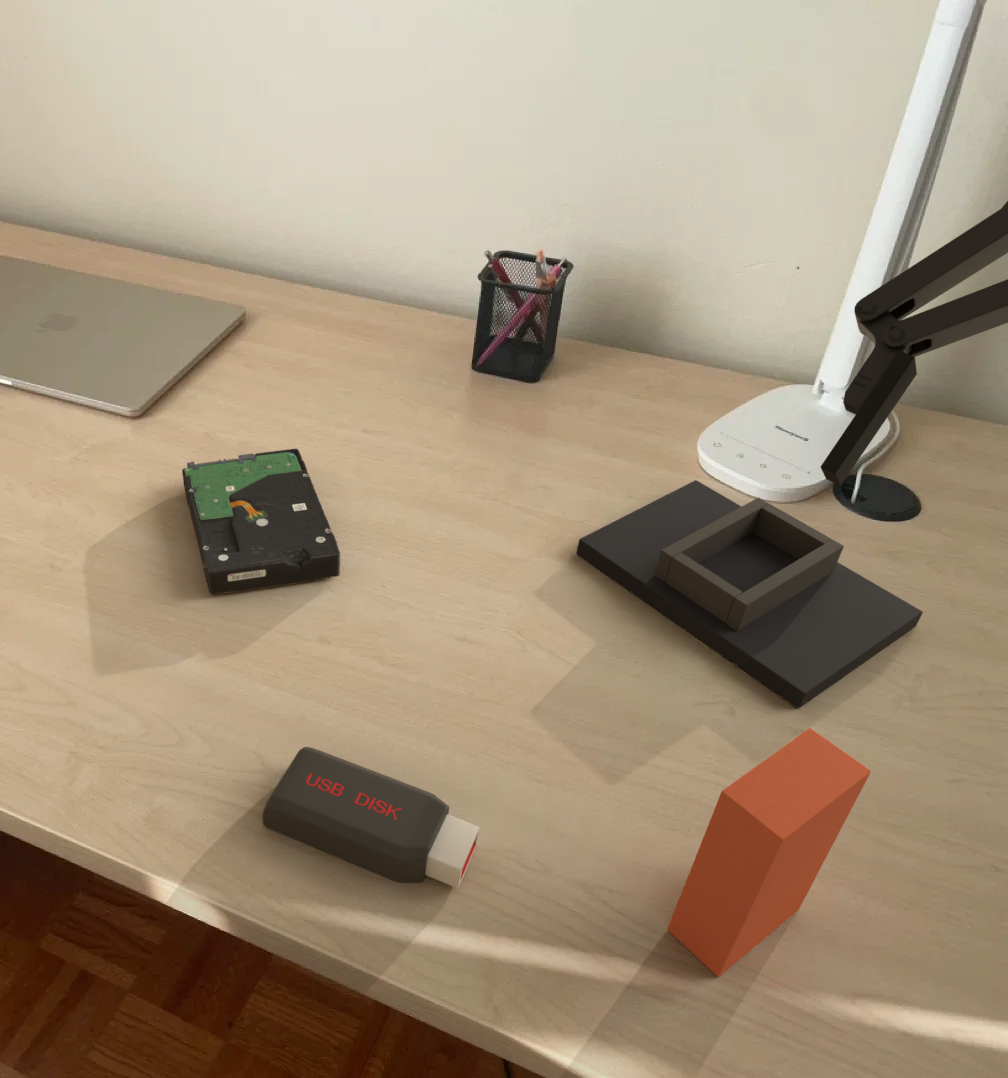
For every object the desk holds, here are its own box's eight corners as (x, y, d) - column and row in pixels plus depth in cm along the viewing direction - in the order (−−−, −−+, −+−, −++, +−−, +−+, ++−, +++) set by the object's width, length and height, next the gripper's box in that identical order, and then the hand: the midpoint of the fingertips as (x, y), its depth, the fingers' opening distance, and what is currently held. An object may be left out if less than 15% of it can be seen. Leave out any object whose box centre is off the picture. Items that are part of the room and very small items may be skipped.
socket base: (916, 626, 77) (936, 585, 74) (798, 709, 70) (816, 667, 68) (691, 493, 90) (703, 454, 87) (575, 553, 83) (584, 513, 81)
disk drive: (342, 580, 81) (298, 471, 92) (344, 552, 79) (298, 444, 91) (209, 601, 79) (180, 487, 91) (208, 573, 78) (178, 460, 89)
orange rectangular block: (798, 909, 59) (871, 770, 51) (718, 977, 56) (783, 840, 48) (747, 866, 61) (809, 727, 54) (666, 929, 58) (721, 790, 50)
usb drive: (300, 764, 67) (300, 735, 65) (481, 834, 63) (486, 805, 61) (262, 825, 63) (261, 796, 62) (452, 905, 59) (456, 876, 57)
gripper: (1612, 267, 42) (1269, 706, 45) (970, 96, 56) (739, 444, 59) (1725, 181, 36) (1318, 697, 39) (971, 12, 49) (713, 406, 52)
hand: (970, 546), depth 49 cm, fingers open, 13 cm apart
